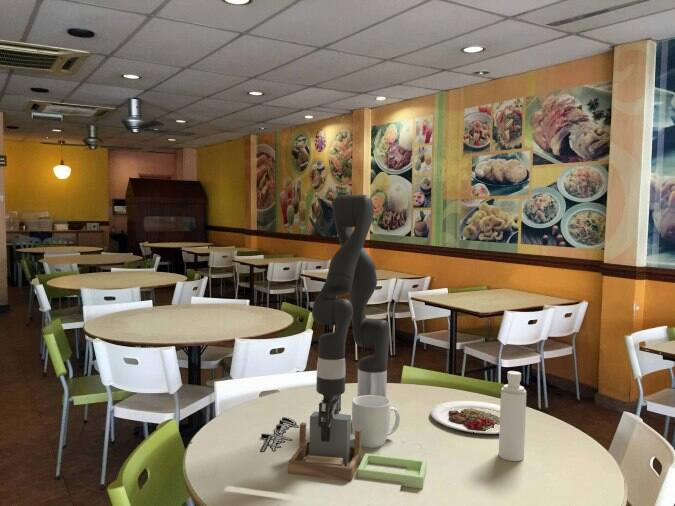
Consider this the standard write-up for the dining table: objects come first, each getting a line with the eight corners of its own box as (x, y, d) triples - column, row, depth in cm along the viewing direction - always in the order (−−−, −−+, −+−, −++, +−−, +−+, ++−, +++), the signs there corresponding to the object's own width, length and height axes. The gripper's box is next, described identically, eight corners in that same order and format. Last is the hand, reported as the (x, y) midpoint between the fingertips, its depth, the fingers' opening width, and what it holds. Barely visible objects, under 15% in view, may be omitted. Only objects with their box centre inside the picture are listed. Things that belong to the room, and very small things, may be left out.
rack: (304, 454, 152) (305, 418, 152) (362, 461, 149) (363, 424, 148) (288, 476, 139) (288, 437, 138) (351, 485, 135) (352, 444, 135)
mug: (388, 434, 169) (389, 391, 168) (408, 447, 159) (409, 402, 158) (344, 441, 162) (345, 397, 161) (362, 456, 152) (363, 409, 152)
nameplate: (271, 416, 179) (302, 417, 178) (271, 421, 179) (302, 422, 178) (251, 451, 151) (288, 453, 151) (251, 456, 151) (287, 458, 151)
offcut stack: (306, 465, 144) (306, 453, 143) (344, 469, 141) (344, 458, 141) (301, 472, 139) (301, 460, 139) (340, 477, 137) (340, 465, 137)
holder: (365, 463, 148) (365, 453, 147) (426, 471, 144) (426, 460, 144) (357, 480, 138) (357, 469, 138) (422, 488, 134) (423, 477, 134)
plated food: (490, 403, 201) (490, 393, 201) (545, 433, 173) (546, 422, 173) (415, 410, 192) (415, 400, 192) (460, 443, 163) (461, 431, 163)
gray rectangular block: (313, 455, 150) (314, 411, 149) (349, 459, 147) (350, 415, 147) (309, 461, 146) (309, 416, 145) (346, 465, 144) (347, 420, 143)
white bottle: (505, 462, 150) (508, 370, 149) (494, 451, 157) (497, 364, 156) (528, 460, 151) (532, 369, 150) (516, 450, 158) (520, 363, 157)
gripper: (338, 382, 138) (336, 447, 138) (350, 368, 151) (349, 427, 152) (309, 379, 139) (307, 443, 140) (324, 366, 153) (322, 424, 154)
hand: (329, 435), depth 146 cm, fingers open, 8 cm apart
